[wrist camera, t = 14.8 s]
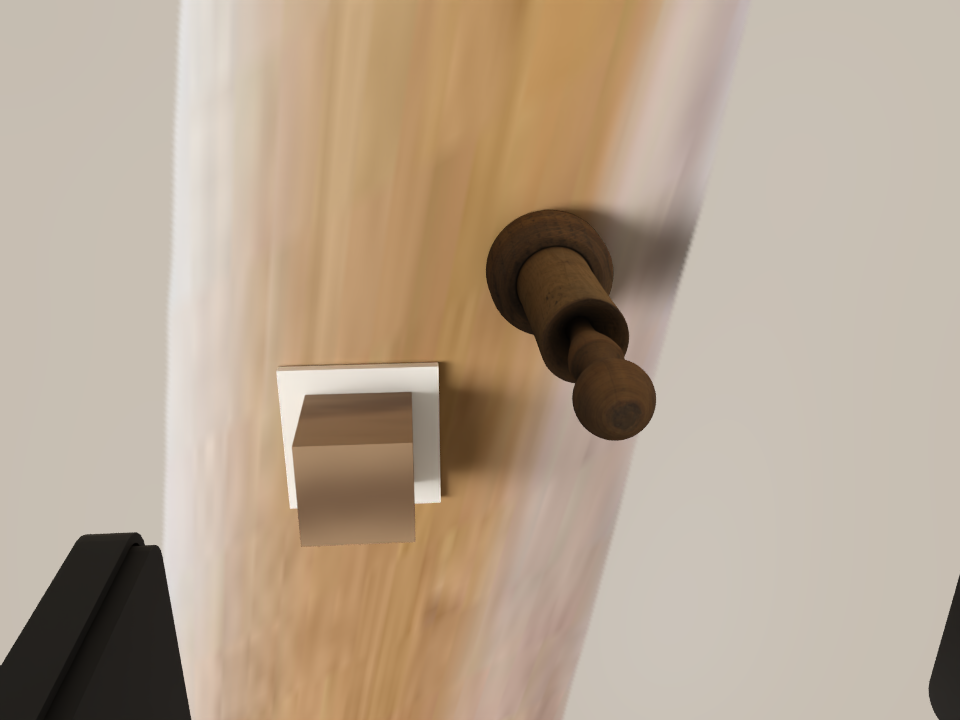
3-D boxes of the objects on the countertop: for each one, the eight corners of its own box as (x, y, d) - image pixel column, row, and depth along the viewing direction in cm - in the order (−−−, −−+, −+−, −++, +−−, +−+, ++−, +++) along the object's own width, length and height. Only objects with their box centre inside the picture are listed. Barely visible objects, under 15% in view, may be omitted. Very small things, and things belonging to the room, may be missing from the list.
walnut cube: (304, 394, 47) (291, 446, 42) (411, 391, 48) (412, 442, 42) (312, 486, 50) (300, 546, 44) (414, 482, 50) (415, 542, 45)
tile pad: (277, 366, 47) (276, 371, 47) (438, 362, 48) (438, 366, 47) (291, 503, 51) (290, 508, 50) (440, 497, 51) (440, 502, 51)
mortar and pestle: (580, 188, 44) (683, 299, 28) (621, 293, 47) (737, 451, 31) (466, 240, 45) (501, 378, 29) (513, 340, 48) (569, 521, 31)
